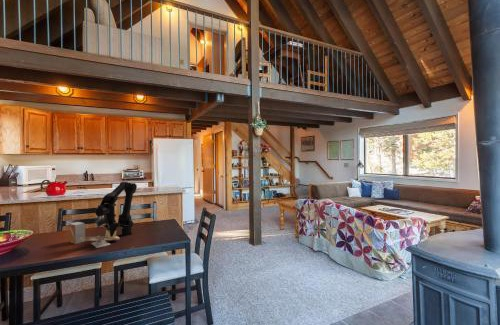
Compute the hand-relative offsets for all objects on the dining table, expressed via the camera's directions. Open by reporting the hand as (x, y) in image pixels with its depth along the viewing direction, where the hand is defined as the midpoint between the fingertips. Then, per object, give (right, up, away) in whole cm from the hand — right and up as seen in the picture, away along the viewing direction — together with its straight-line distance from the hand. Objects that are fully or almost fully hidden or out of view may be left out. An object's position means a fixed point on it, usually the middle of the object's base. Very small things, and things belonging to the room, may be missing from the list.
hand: (110, 235), depth 172 cm
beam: (-4, 0, -4) cm, 6 cm away
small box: (-24, -5, +1) cm, 24 cm away
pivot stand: (-4, -4, -4) cm, 7 cm away
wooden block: (0, -1, 0) cm, 1 cm away
